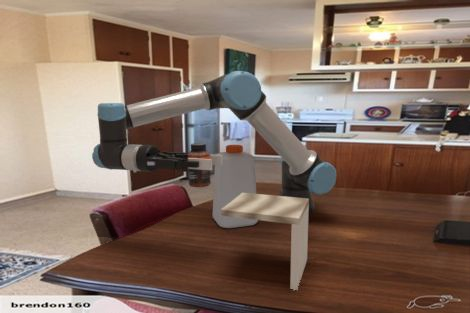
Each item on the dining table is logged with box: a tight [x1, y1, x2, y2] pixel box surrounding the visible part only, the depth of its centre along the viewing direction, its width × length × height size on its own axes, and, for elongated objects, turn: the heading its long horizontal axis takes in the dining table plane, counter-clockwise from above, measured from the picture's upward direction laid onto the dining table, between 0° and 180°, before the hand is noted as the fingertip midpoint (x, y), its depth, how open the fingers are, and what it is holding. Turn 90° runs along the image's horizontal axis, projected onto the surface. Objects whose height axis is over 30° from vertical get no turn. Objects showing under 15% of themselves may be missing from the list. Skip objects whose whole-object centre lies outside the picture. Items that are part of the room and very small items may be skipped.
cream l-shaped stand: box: [221, 193, 310, 291], centre depth 84 cm, size 19×16×18 cm
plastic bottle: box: [212, 144, 259, 229], centre depth 118 cm, size 15×15×28 cm
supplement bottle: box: [187, 142, 212, 188], centre depth 87 cm, size 6×6×11 cm
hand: (216, 162), depth 85 cm, fingers closed on supplement bottle, 6 cm apart
